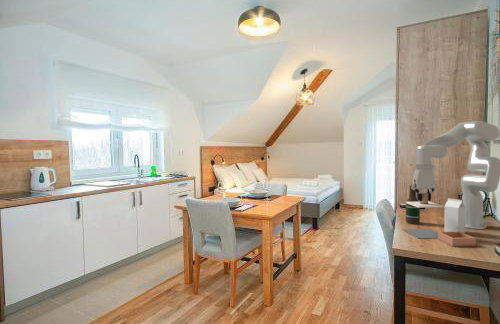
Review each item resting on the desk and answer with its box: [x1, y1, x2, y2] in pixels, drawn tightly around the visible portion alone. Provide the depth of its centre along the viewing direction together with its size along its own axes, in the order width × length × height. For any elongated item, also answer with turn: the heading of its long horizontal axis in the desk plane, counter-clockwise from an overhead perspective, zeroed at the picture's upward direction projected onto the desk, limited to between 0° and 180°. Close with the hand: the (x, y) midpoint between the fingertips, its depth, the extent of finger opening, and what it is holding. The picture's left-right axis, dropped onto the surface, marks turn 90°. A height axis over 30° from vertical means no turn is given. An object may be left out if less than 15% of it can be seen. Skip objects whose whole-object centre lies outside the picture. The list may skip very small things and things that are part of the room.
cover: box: [405, 192, 445, 209], centre depth 155 cm, size 13×13×7 cm
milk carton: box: [443, 197, 466, 234], centre depth 157 cm, size 7×7×19 cm
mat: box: [402, 228, 439, 240], centre depth 156 cm, size 16×16×1 cm
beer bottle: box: [405, 185, 421, 225], centre depth 178 cm, size 8×8×24 cm
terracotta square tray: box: [437, 231, 476, 248], centre depth 141 cm, size 11×11×4 cm
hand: (424, 200), depth 155 cm, fingers closed on cover, 4 cm apart
